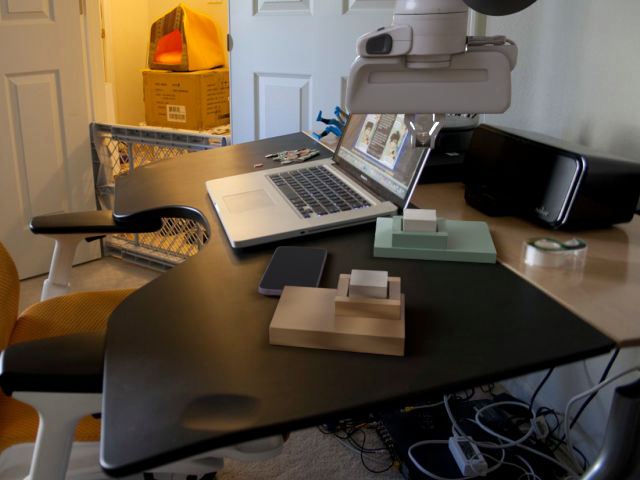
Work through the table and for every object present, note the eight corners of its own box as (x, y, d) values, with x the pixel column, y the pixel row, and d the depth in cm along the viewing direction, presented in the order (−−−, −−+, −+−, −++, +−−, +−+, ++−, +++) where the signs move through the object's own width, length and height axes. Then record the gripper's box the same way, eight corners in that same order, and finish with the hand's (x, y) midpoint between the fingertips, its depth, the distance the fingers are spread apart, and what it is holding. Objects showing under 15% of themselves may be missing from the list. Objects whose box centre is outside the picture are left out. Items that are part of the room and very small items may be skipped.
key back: (434, 223, 91) (435, 209, 90) (436, 234, 87) (437, 220, 86) (402, 221, 92) (403, 208, 91) (402, 232, 88) (403, 219, 87)
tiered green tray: (485, 230, 96) (487, 209, 94) (495, 263, 85) (498, 239, 83) (376, 226, 99) (377, 205, 98) (373, 256, 88) (374, 233, 87)
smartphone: (328, 248, 90) (315, 292, 76) (328, 255, 90) (315, 301, 77) (277, 245, 92) (256, 288, 78) (277, 252, 92) (256, 296, 78)
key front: (387, 285, 72) (387, 271, 72) (386, 301, 69) (387, 286, 68) (351, 283, 73) (352, 269, 73) (349, 298, 70) (349, 284, 69)
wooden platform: (403, 308, 74) (405, 277, 73) (403, 356, 65) (405, 322, 64) (285, 299, 78) (285, 270, 76) (269, 344, 68) (268, 311, 67)
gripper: (515, 32, 78) (503, 142, 84) (348, 37, 83) (347, 141, 89) (524, 36, 73) (510, 154, 78) (344, 42, 78) (343, 152, 83)
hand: (422, 147), depth 83 cm, fingers closed
